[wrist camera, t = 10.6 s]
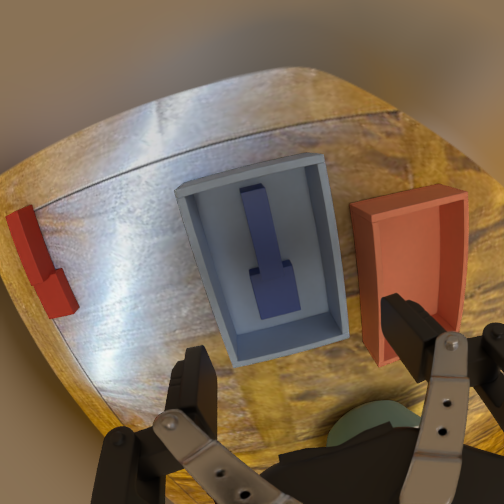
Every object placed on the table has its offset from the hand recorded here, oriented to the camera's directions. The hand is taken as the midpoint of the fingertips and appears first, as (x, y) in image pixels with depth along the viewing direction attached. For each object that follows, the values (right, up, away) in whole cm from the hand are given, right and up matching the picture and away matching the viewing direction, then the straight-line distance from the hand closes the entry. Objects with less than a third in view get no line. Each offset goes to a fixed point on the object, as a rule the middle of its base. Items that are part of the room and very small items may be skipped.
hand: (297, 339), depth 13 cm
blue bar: (-1, +4, +13) cm, 13 cm away
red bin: (+13, +2, +15) cm, 20 cm away
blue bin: (-1, +4, +13) cm, 14 cm away
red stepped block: (-22, +3, +12) cm, 25 cm away
